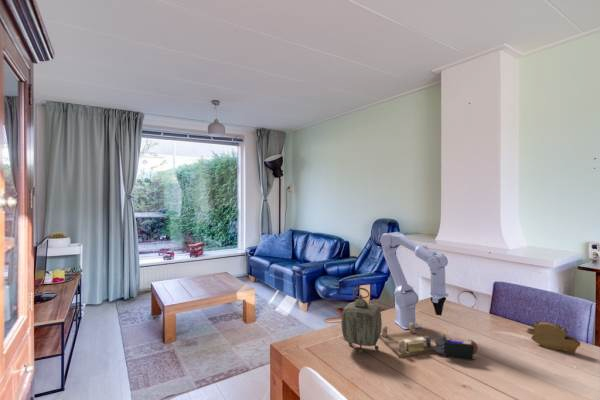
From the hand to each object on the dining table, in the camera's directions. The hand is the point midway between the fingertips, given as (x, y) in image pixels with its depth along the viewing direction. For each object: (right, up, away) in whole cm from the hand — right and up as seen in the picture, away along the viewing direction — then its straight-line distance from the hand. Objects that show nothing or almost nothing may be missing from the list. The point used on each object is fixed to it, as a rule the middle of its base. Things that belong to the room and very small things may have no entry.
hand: (438, 314), depth 134 cm
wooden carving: (+39, -9, -11) cm, 42 cm away
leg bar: (-13, -9, -10) cm, 19 cm away
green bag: (-35, -11, -9) cm, 37 cm away
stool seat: (-15, -10, -5) cm, 19 cm away
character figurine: (0, -10, -15) cm, 19 cm away
